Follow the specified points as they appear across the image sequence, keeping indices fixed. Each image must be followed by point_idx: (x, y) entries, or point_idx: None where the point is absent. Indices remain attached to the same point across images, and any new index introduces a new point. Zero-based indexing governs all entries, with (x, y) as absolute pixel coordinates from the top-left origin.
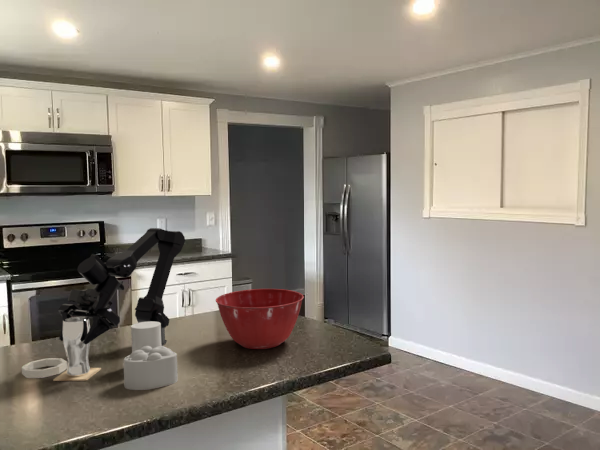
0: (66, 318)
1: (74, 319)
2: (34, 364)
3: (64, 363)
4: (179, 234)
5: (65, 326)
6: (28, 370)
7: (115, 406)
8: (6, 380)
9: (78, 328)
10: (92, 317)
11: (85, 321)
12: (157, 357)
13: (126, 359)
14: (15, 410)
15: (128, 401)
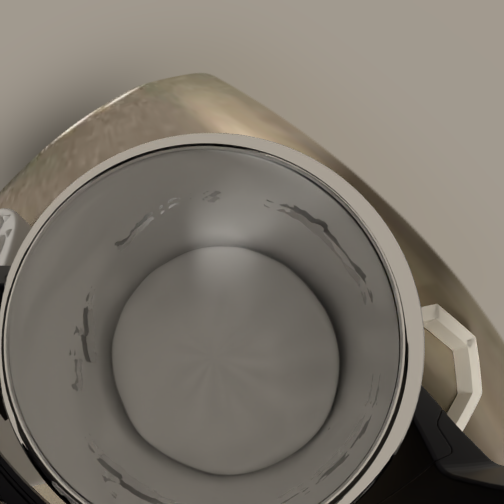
0: (468, 477)
1: (307, 500)
2: (465, 396)
3: None
4: None
5: (264, 184)
6: (431, 307)
7: (77, 169)
8: (459, 283)
9: (116, 223)
10: (2, 456)
11: (25, 274)
12: None
13: (11, 220)
14: (269, 125)
15: (58, 191)
